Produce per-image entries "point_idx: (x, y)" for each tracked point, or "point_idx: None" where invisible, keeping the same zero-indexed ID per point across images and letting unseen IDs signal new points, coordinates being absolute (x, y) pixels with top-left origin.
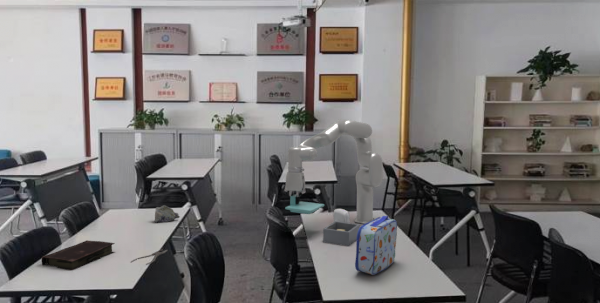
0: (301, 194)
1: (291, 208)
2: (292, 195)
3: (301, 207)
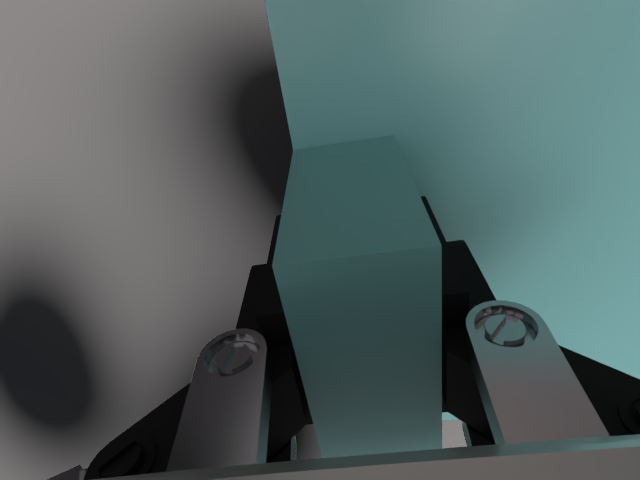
0: (617, 386)
1: (442, 417)
2: (319, 418)
3: (561, 333)
